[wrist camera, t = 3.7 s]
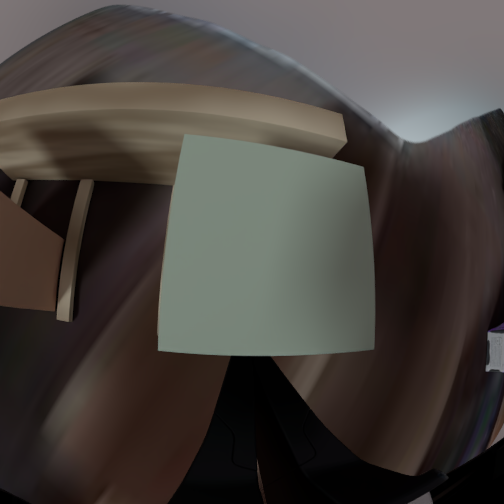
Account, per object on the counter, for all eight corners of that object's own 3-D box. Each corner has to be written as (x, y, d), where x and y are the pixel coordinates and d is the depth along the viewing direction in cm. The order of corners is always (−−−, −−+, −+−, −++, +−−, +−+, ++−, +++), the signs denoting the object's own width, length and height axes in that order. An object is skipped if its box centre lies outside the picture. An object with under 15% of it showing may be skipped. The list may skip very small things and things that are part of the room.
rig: (292, 340, 18) (359, 352, 10) (-13, 300, 13) (-79, 287, 5) (293, 177, 21) (342, 114, 13) (20, 159, 16) (-22, 106, 8)
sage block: (258, 330, 17) (373, 349, 6) (180, 326, 16) (158, 350, 5) (260, 255, 19) (363, 166, 7) (186, 248, 18) (184, 134, 6)
